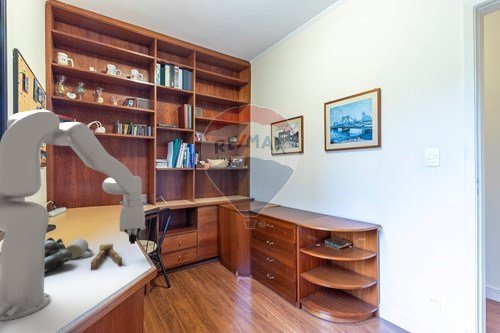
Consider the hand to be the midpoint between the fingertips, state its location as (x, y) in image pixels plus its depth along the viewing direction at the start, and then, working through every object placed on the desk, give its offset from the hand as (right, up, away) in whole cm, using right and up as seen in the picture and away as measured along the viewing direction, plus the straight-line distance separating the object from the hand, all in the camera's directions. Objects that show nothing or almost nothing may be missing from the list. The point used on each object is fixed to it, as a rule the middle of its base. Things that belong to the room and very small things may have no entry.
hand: (132, 243), depth 107 cm
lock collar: (-16, -8, +6) cm, 18 cm away
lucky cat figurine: (-30, -8, -11) cm, 33 cm away
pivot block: (-16, -8, +7) cm, 19 cm away
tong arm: (-7, -8, -1) cm, 11 cm away
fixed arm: (-14, -8, -2) cm, 16 cm away
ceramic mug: (-27, -8, +4) cm, 29 cm away
